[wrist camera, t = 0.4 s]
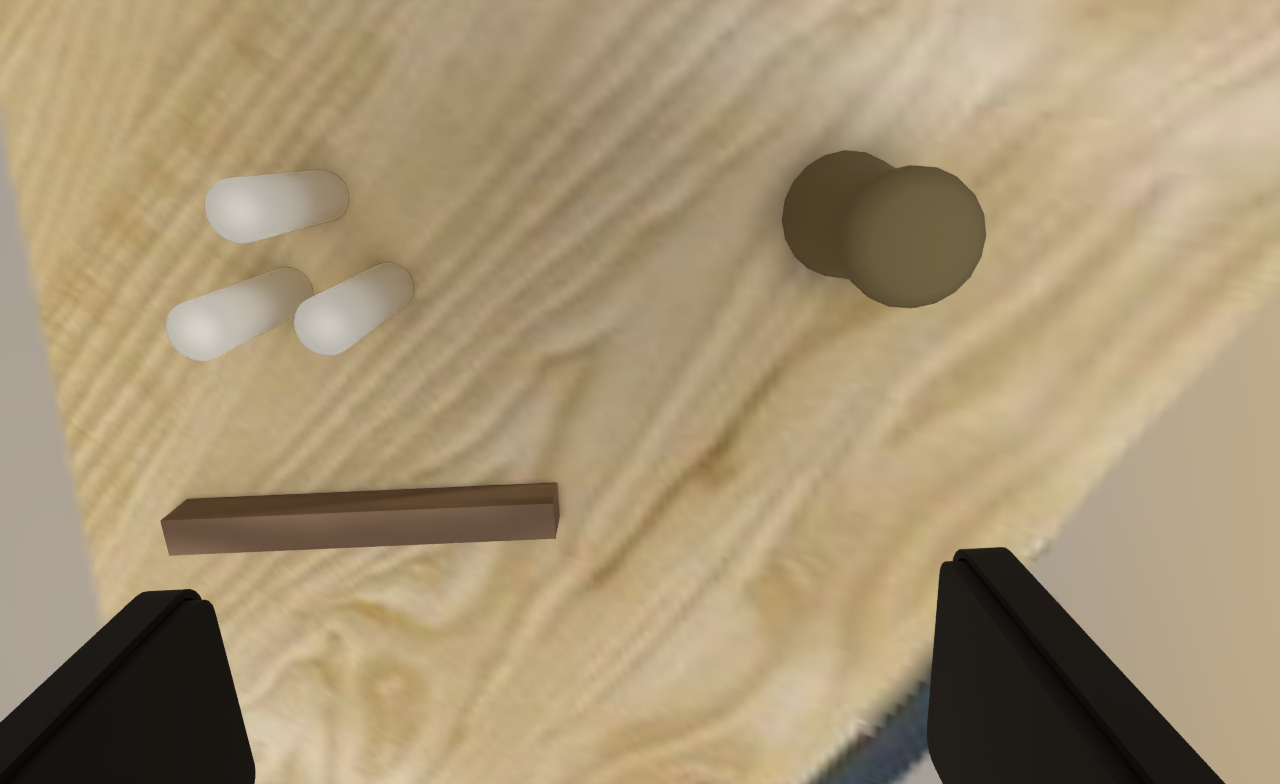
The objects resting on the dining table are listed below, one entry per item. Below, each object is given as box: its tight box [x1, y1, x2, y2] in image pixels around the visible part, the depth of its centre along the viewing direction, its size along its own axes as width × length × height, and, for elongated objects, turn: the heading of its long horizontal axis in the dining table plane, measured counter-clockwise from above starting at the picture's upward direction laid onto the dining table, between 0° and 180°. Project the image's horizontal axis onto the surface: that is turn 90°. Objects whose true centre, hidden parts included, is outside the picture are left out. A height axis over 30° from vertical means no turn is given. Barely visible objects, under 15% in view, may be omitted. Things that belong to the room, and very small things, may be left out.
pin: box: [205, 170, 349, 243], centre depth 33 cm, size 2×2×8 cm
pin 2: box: [294, 263, 414, 355], centre depth 34 cm, size 2×2×8 cm
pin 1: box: [166, 267, 313, 361], centre depth 34 cm, size 2×2×8 cm
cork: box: [782, 151, 986, 308], centre depth 32 cm, size 6×6×11 cm
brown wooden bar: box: [160, 483, 560, 556], centre depth 41 cm, size 2×20×2 cm, turn 93°
